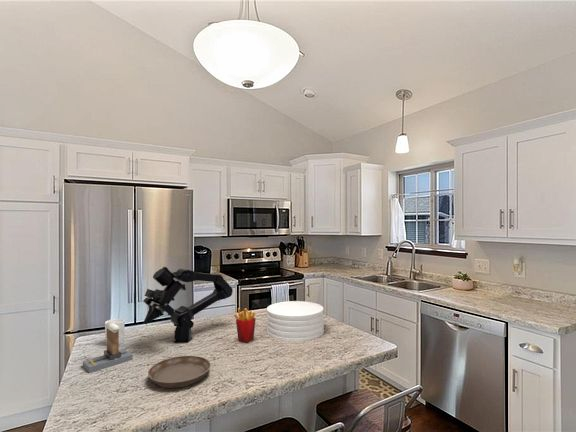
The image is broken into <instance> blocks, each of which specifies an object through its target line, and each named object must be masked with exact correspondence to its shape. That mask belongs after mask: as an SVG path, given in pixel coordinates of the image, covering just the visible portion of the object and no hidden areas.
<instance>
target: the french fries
mask: <svg viewBox="0 0 576 432" xmlns="http://www.w3.org/2000/svg"><path fill="white" fill-rule="evenodd" d="M237 313H238V316H237V315H236V314H235V313H233V317H234V318H235V324H236V332H237V340H238V342H240V343H244V344H248V343H251V342H252V341H254V338H255V329H256V328H255V327H256V320H257V319H256V318H255V315H256V314H257V313H256V311H252V309H251V310H249V309H247V308H246V307H245V308H243V310H241V307H238V308H237Z"/></svg>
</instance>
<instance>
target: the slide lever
mask: <svg viewBox="0 0 576 432" xmlns="http://www.w3.org/2000/svg"><path fill="white" fill-rule="evenodd" d="M106 328H107V345H106V349H105V350H104V351H103V355H105V356H106V357H107V358H108V359H110V360H111V359H115V358H118V357H121V352H120V351H121V350H119V348H120V346H119V345H120V344H119V326H117V325H116V324H114V323H112V322H108V323H107V324H106Z"/></svg>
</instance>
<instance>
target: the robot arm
mask: <svg viewBox="0 0 576 432" xmlns="http://www.w3.org/2000/svg"><path fill="white" fill-rule="evenodd" d="M152 278H153V280H154V281H156V283H158V284H159V285H161V287H165V288H164V289H158V288H155V290H153V289H149V288H146V291H145V293H144V297H145V298H144V299H143V301H142V302H143V303H145V305H147V306H148V311H147V314H146V316H145V318H144V320H143V324H144V325H147V324H149V323H150V322H152V321H154V320H156V319H158V318H160V317H161V316H164V315H165V313H167V315H168V316H170V318H169V319H170V321H171V323H172V324H173V326H174V327H175V330H174V341H173V343H177V344H179V343H181V344H182V343H184V344H185V343H186V344H187V343H190V341H191V340H192V339H193V336H192V328H193V327H194V324H195V322H194V321H193V320H192V319H193V317H194V316H195V315H197V314H198V313H200V312H202V311H204V310H205V309H206V308H208V307H210V306H211V305H213V304H214V303H216V302H218V301H222V300H225V299H228V298H230V297H231V296H232V295H233V291H234V290H233V287H232V286H231V285H230V284H229V283H228V281H226V280H225V279H224V276H222V274H219V273H214V274H213V273H204V272H197V271H194V270H191V269H186V268H185V269H184V268H178V270H176V271H173V272H172V271H170V270H169V268H168V267H167V266H163V267H162V268H160V269H159V270H157V271H156V272H155V273H154V274H153V276H152ZM195 281H196V282H197V281H198V282H210V283H213V287H214V289H213V291H212V292H211V293H210V294H208V295H205V296H204V297H203V298H201V299H200V300H198V301H196V302H195V303H192V304H191V305H189V306H184V305H181V306H179V307H178V308H176V309H174V308H173V307H172V306H171V305H169V304H170V303H171V302H172V301H173V302H174V301H175V299H176V298H175V297H176V295H178V293H179V292H180V291H181V290H182V291H186V290H187V289H186V284H185V283H192V282H195Z"/></svg>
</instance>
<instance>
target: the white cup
mask: <svg viewBox="0 0 576 432" xmlns="http://www.w3.org/2000/svg"><path fill="white" fill-rule="evenodd" d="M125 321H126V320H125V318H111V319H108V320H106V321H105V322H104V332H105V334H104V335H105V345H106V346H107V328H106V324H107V323H108V322H112V323H114V324H116V325H117V326H119V345H121V343H122V344H123V343H124V335H125Z"/></svg>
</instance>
